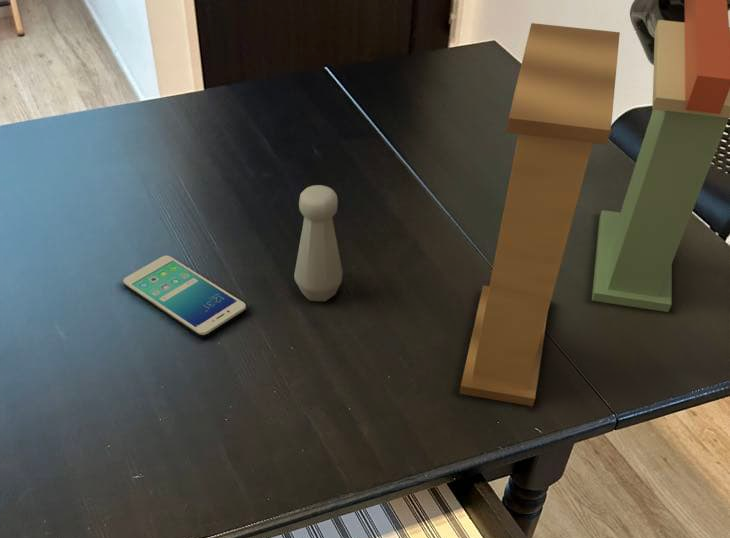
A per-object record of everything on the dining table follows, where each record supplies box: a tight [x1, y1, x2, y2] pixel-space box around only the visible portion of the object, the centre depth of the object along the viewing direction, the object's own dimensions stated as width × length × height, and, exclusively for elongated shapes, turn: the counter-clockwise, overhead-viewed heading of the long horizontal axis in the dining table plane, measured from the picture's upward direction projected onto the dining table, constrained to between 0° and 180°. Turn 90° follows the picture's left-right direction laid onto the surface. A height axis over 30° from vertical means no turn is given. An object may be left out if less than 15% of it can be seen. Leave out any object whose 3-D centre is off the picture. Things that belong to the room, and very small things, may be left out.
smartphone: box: [122, 255, 247, 339], centre depth 99 cm, size 7×1×15 cm
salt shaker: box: [293, 184, 343, 302], centre depth 95 cm, size 6×6×13 cm
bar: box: [685, 0, 730, 114], centre depth 85 cm, size 28×3×3 cm, turn 166°
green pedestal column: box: [591, 20, 730, 313], centre depth 94 cm, size 18×9×24 cm, turn 166°
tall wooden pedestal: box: [459, 22, 621, 407], centre depth 82 cm, size 18×8×30 cm, turn 166°
